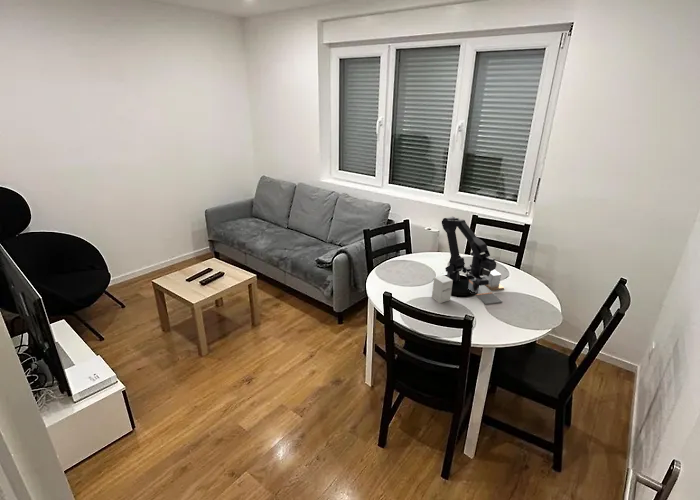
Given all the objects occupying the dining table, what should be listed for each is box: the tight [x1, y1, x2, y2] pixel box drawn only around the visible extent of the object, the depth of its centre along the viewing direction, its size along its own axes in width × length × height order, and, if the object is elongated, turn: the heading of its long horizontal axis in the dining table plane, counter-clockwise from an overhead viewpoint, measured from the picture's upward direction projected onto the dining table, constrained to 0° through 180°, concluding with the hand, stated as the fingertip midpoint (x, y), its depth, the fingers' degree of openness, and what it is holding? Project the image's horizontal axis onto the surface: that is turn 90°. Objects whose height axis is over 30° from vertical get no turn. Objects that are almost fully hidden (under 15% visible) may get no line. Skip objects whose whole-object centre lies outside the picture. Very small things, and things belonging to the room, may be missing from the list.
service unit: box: [482, 269, 505, 292], centre depth 224 cm, size 8×12×9 cm, turn 14°
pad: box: [475, 291, 503, 306], centre depth 211 cm, size 10×10×1 cm
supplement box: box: [431, 274, 453, 304], centre depth 208 cm, size 7×7×13 cm
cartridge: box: [467, 278, 480, 294], centre depth 218 cm, size 4×4×7 cm
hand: (473, 288), depth 218 cm, fingers closed on cartridge, 4 cm apart
